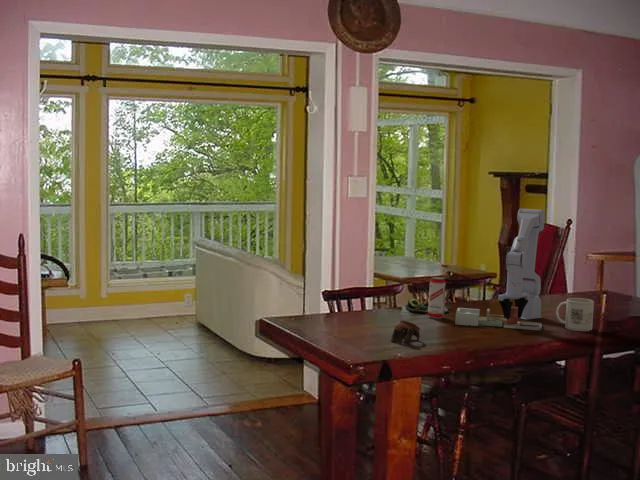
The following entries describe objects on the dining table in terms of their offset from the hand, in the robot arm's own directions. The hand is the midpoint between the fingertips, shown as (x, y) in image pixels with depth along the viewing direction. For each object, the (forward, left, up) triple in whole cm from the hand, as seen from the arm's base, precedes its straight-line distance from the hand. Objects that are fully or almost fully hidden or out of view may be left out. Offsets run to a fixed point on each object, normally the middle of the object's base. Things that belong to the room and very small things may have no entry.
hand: (512, 318), depth 294 cm
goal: (+12, -12, -3) cm, 17 cm away
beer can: (+17, -25, -3) cm, 30 cm away
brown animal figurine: (+54, +4, -3) cm, 54 cm away
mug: (-20, +13, -3) cm, 24 cm away
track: (+1, -1, -3) cm, 3 cm away
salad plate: (+11, -39, -4) cm, 41 cm away
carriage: (+2, -3, -3) cm, 4 cm away
